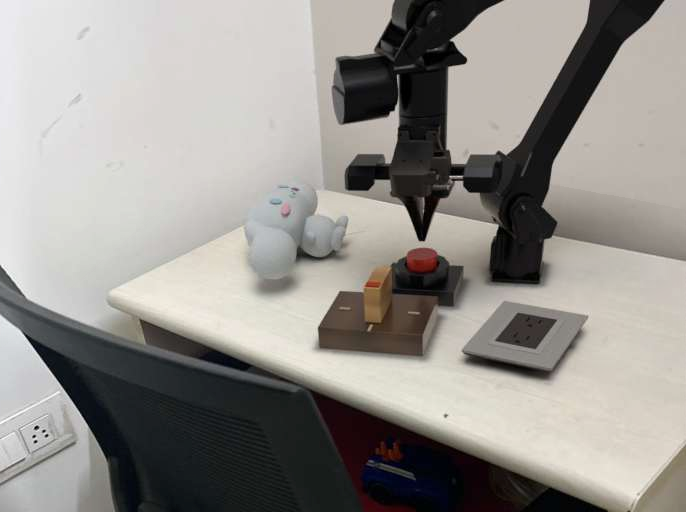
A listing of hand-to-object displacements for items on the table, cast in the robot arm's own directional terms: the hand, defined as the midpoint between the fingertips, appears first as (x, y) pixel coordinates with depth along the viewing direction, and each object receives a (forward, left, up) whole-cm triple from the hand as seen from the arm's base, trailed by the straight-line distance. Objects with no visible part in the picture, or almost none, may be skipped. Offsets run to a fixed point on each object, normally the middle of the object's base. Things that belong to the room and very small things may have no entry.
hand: (422, 240), depth 101 cm
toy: (+21, -10, -7) cm, 24 cm away
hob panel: (+3, +12, -7) cm, 14 cm away
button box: (0, 0, -7) cm, 7 cm away
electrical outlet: (-15, +13, -7) cm, 21 cm away
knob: (+3, +12, -4) cm, 13 cm away
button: (0, 0, -4) cm, 4 cm away
